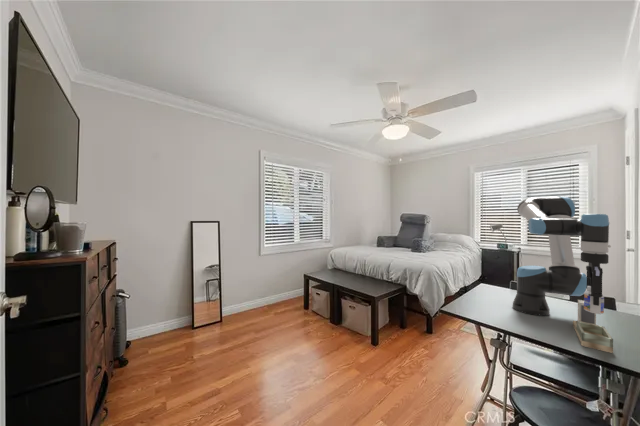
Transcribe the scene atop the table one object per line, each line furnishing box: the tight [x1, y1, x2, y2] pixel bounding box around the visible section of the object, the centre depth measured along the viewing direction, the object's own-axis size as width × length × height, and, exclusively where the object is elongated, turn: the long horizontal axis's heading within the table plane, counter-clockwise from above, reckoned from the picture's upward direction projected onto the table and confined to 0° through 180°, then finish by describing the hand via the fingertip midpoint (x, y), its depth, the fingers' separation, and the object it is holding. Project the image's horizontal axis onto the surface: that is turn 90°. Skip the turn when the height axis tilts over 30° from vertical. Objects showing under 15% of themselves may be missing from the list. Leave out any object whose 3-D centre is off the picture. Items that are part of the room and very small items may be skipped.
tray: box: [572, 320, 614, 354], centre depth 105 cm, size 8×25×5 cm, turn 141°
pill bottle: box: [583, 286, 605, 315], centre depth 101 cm, size 5×5×10 cm
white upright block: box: [577, 299, 597, 325], centre depth 112 cm, size 5×6×10 cm
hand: (593, 310), depth 101 cm, fingers closed on pill bottle, 5 cm apart
